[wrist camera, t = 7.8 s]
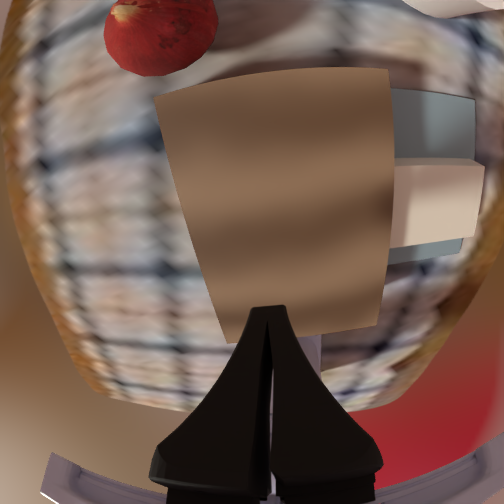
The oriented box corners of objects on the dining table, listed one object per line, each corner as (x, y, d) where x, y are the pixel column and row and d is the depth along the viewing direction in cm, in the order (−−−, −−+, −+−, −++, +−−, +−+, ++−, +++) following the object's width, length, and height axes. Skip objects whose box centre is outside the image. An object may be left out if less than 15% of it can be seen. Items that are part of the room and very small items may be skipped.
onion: (213, -9, 11) (181, -66, 4) (236, 62, 14) (215, 35, 7) (131, 23, 12) (59, -1, 5) (150, 91, 14) (79, 97, 8)
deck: (363, 292, 23) (376, 325, 19) (231, 309, 24) (227, 343, 21) (362, 73, 13) (388, 69, 10) (176, 96, 15) (153, 97, 11)
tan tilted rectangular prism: (461, 224, 18) (473, 236, 17) (374, 235, 19) (384, 249, 18) (469, 158, 15) (484, 166, 13) (376, 158, 16) (388, 166, 14)
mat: (457, 251, 20) (459, 252, 20) (366, 265, 21) (367, 267, 21) (472, 99, 13) (474, 100, 12) (364, 87, 14) (365, 87, 14)
